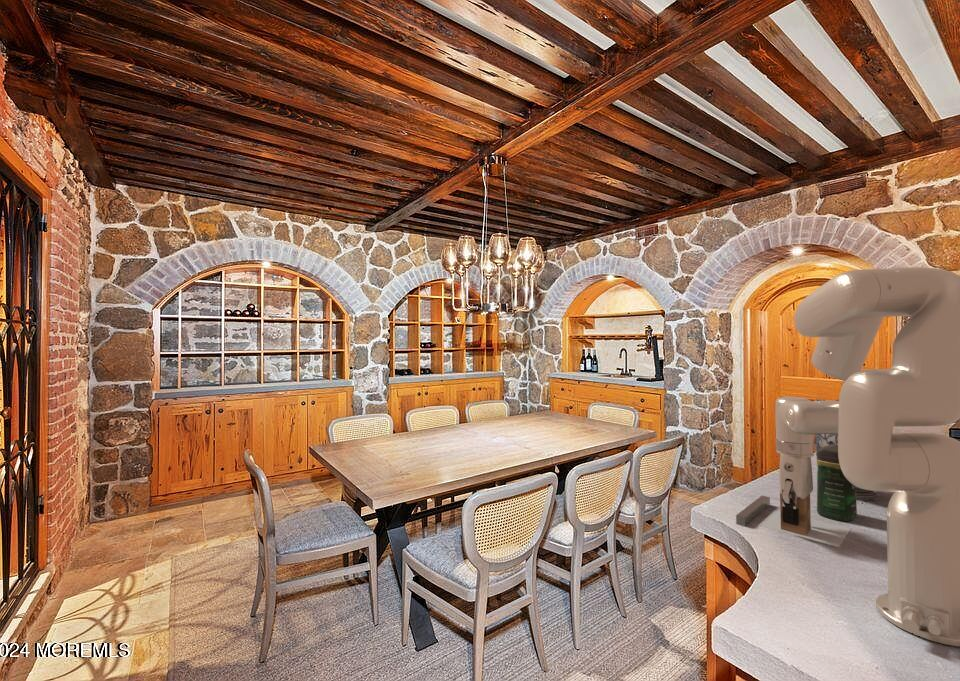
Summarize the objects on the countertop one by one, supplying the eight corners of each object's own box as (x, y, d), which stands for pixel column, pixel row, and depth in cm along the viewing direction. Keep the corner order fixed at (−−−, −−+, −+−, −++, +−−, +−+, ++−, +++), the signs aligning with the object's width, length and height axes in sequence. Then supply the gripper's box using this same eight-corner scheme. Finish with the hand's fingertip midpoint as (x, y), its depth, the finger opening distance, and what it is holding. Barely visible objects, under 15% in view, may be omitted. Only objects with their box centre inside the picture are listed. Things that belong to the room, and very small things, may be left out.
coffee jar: (852, 525, 109) (851, 452, 109) (813, 516, 115) (812, 446, 115) (860, 515, 115) (859, 445, 115) (823, 506, 121) (822, 440, 121)
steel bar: (745, 527, 109) (744, 517, 109) (736, 525, 111) (736, 515, 111) (770, 506, 123) (769, 497, 123) (762, 504, 124) (761, 495, 124)
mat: (838, 548, 98) (838, 547, 98) (758, 526, 110) (758, 525, 110) (850, 529, 107) (850, 528, 107) (775, 511, 119) (775, 510, 119)
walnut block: (805, 535, 104) (804, 493, 104) (780, 529, 107) (780, 488, 107) (810, 529, 107) (810, 488, 107) (786, 523, 111) (785, 484, 111)
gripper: (803, 457, 99) (804, 534, 99) (821, 443, 110) (822, 513, 110) (765, 451, 104) (766, 524, 104) (786, 439, 116) (787, 505, 116)
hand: (795, 518), depth 107 cm, fingers open, 7 cm apart
